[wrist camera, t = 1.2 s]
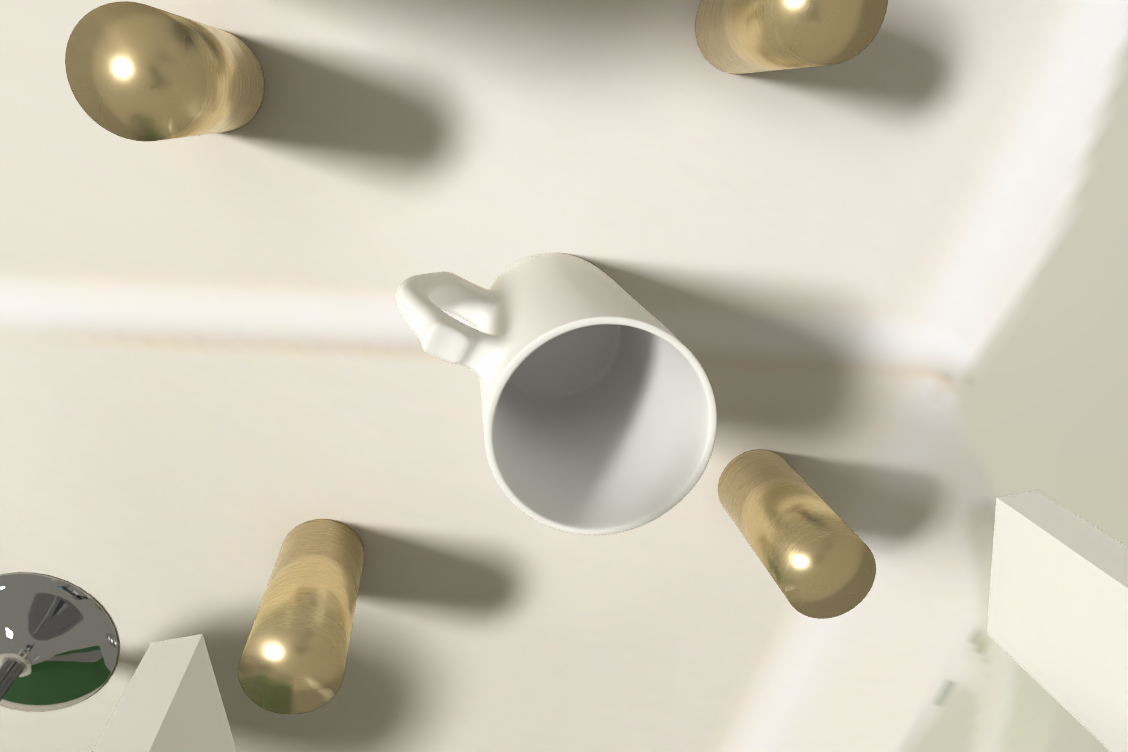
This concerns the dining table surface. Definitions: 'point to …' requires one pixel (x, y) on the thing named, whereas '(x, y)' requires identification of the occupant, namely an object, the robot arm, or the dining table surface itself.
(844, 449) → the dining table surface
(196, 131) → the spacer posts
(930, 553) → the dining table surface
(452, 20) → the dining table surface
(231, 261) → the dining table surface
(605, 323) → the mug
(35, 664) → the wine glass
